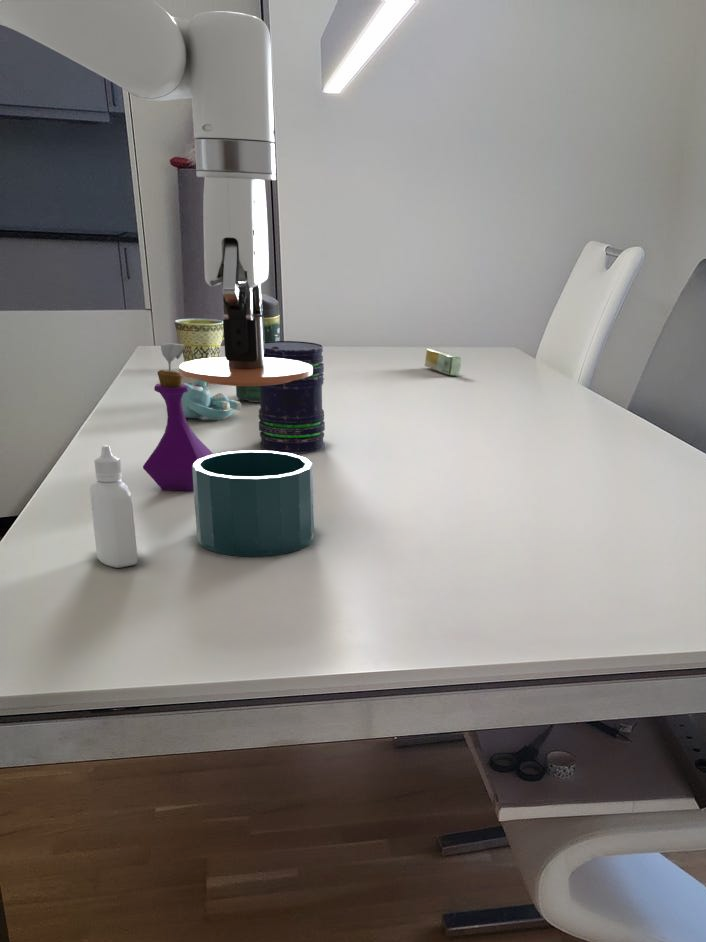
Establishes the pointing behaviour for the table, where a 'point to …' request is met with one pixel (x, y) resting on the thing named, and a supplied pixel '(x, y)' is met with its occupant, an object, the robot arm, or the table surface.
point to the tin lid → (247, 368)
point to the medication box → (443, 362)
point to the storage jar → (293, 402)
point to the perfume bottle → (174, 433)
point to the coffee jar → (270, 334)
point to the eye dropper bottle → (112, 513)
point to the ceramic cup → (200, 337)
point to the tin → (253, 502)
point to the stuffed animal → (206, 403)
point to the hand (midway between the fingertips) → (245, 355)
